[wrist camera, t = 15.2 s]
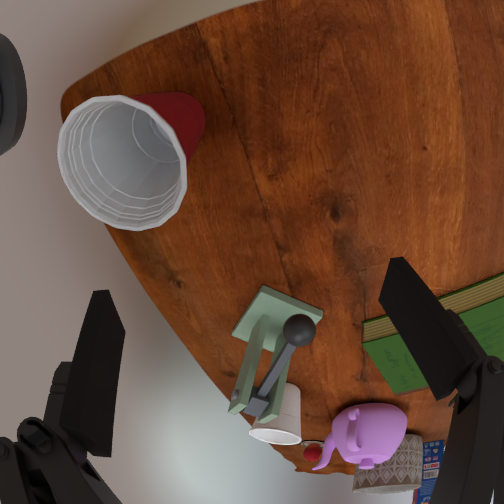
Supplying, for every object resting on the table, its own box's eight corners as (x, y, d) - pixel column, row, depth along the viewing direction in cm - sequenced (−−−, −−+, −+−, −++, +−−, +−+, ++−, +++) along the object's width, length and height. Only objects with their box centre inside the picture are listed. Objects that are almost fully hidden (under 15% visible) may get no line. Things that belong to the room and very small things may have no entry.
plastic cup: (220, 180, 32) (173, 254, 23) (131, 152, 32) (62, 210, 23) (247, 81, 25) (196, 115, 16) (142, 58, 24) (55, 87, 16)
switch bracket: (262, 284, 40) (233, 387, 29) (323, 310, 41) (310, 412, 30) (233, 328, 48) (205, 413, 37) (284, 349, 49) (266, 433, 38)
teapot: (296, 404, 63) (285, 461, 52) (390, 386, 51) (388, 453, 41) (340, 432, 71) (333, 478, 61) (417, 418, 59) (416, 470, 49)
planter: (410, 423, 62) (407, 482, 50) (430, 438, 68) (429, 487, 56) (346, 436, 73) (339, 489, 61) (375, 450, 79) (370, 495, 67)
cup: (254, 375, 57) (240, 426, 49) (304, 376, 54) (295, 431, 45) (268, 397, 63) (258, 442, 55) (313, 398, 59) (305, 446, 51)
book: (395, 378, 49) (395, 396, 46) (361, 321, 41) (361, 343, 38) (521, 337, 36) (526, 355, 33) (525, 262, 28) (535, 282, 25)
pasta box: (419, 443, 72) (413, 524, 51) (443, 439, 69) (439, 520, 48) (415, 460, 87) (409, 524, 66) (434, 457, 84) (430, 521, 63)
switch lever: (290, 303, 34) (294, 317, 31) (318, 315, 34) (325, 329, 31) (238, 395, 37) (236, 413, 33) (263, 404, 37) (264, 422, 34)
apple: (316, 438, 77) (313, 458, 73) (332, 444, 80) (329, 463, 75) (296, 441, 82) (292, 460, 77) (312, 447, 85) (309, 465, 80)
